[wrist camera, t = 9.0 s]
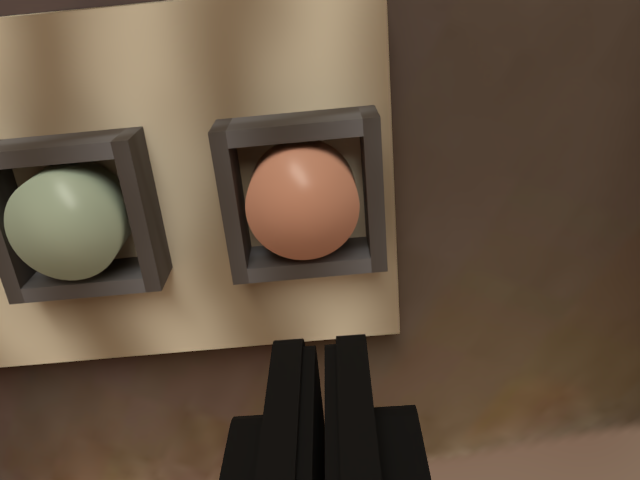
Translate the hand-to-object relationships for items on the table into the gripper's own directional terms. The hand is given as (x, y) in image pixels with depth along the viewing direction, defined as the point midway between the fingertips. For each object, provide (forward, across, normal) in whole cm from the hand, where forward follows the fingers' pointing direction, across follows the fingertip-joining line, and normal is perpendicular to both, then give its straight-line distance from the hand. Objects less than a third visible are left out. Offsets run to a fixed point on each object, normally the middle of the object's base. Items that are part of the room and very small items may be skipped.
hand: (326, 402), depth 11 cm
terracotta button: (+13, +1, 0) cm, 13 cm away
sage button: (+13, +9, 0) cm, 16 cm away
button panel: (+15, +10, 0) cm, 18 cm away
